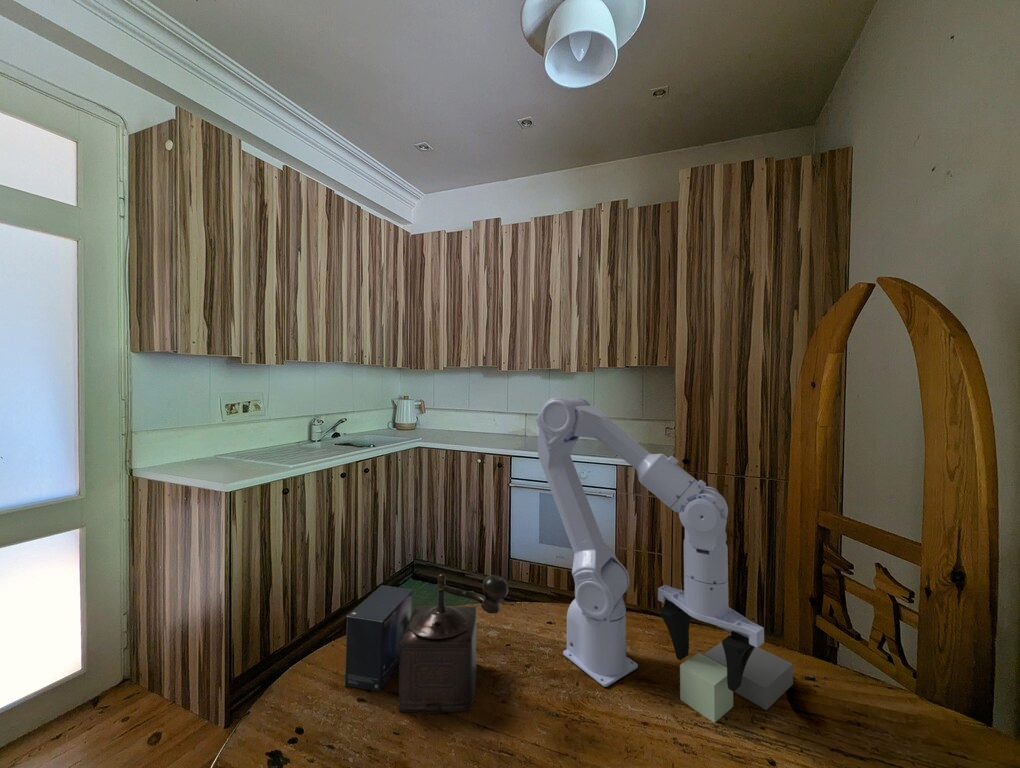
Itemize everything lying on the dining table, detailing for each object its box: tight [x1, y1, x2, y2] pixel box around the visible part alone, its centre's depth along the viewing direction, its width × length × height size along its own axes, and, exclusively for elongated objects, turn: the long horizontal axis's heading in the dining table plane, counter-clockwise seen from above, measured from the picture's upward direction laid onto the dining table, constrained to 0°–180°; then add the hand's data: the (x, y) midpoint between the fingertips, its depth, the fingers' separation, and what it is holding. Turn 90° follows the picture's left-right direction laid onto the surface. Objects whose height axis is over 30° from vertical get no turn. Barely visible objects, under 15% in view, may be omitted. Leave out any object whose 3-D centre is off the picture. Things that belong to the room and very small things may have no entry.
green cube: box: [679, 652, 734, 724], centre depth 57 cm, size 5×5×5 cm
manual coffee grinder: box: [398, 573, 509, 714], centre depth 60 cm, size 16×11×18 cm
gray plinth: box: [703, 641, 794, 711], centre depth 62 cm, size 9×9×3 cm
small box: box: [344, 584, 413, 692], centre depth 65 cm, size 11×6×10 cm, turn 168°
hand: (706, 671), depth 57 cm, fingers open, 7 cm apart
